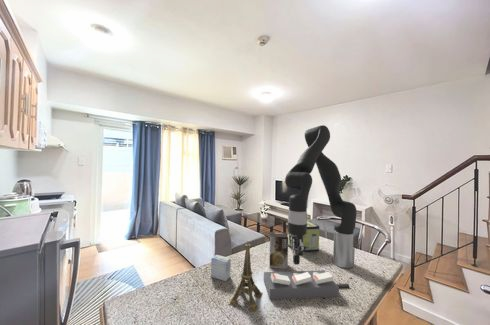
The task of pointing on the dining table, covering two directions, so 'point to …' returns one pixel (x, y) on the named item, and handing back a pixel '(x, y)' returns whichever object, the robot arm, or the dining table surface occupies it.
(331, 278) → the rocker
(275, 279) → the block
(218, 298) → the dining table surface
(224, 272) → the medicine box
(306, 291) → the switch panel
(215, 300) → the dining table surface
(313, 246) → the protein box
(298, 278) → the block
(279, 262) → the coffee box
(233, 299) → the eiffel tower
